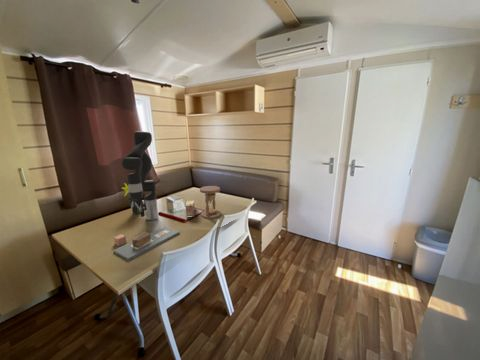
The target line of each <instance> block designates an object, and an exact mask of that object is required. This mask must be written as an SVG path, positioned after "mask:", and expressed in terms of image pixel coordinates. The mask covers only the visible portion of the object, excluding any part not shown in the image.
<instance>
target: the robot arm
mask: <svg viewBox="0 0 480 360" xmlns="http://www.w3.org/2000/svg"><path fill="white" fill-rule="evenodd" d="M152 140H153V136H152V133H151V132H149V131H144V130H143V131H141V130H135V131H134V133H133V141H134V144H135V146H133V147H132V148H131V150H130V152H129V153H128V154H127V155H126V156H125V157H123V159H122V160H121V166H122V168H123V169H124V170H135V171H134V172H130V173H128V174H127V175H126V177H127V186H128V190H129V192H128V193H129V194H128V196H129V198H128V205H129V208H130V209H131V211H132V214H133V215H134V214H135V215H136V214H138V213H137V211H136V208H135V207H136V206H137V207H138V209H139V210H140V213H139V215H140V217H141V218H143V217H145V219H146V220H147V221H154V220H157V219H159V211H158V201H157V193H156V181H155V180H154V179H149V180H146V178H147V176H148V174H150V172H151V170H152V168H153V166H152V165H153V164H152V159H151V157H150V156H149V154H148V153H147V152H146V151H147V149H149V147H150V145H151V144H152ZM146 192H149V193H148V194H146V195H145V196H144V193H146ZM143 198H144V199H143Z"/></svg>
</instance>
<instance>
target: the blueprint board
mask: <svg viewBox="0 0 480 360" xmlns="http://www.w3.org/2000/svg"><path fill="white" fill-rule="evenodd" d="M149 233H150V236H151V240H150V241H149V242H147V243H146V244H144V245H143V246H141V247H140V248H137V247H133V243H132V241H130V242H128V243H125V244H123V245H120V246H118V247H117V248H115V249H113V253H114V254H116V255H117V256H120V257H121V258H122V259H124V260H127V261H128V262H129V261H130V260H132V259H134V258H136V257H139V256H140V255H142V254H144V253H146V252H148V251H150V250H152V249H153V248H155V247H157V246H159V245H160V244H163V243H164V242H166V241H169V240H170V239H172V238H174V237H175V236H178V235H180V234H181V233H180V231H179V230H176V229H173V228H171V227H167V226H163V227H160V228H158V229H157V230H155V231H152V232H149Z"/></svg>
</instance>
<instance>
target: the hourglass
mask: <svg viewBox="0 0 480 360" xmlns="http://www.w3.org/2000/svg"><path fill="white" fill-rule="evenodd" d="M199 192H200V193H202V194H204V196H205V200H204V201H205V203H206V204H205V205H206V206H205V210H204V211H202V212H201V213H200V217H201V218H202V217H203V218H202V219H205V220H214V219H218V218H219V217H221V215H222V213H221V211H220V210H218V209H216V200H215V199H216V194H217V193H219V192H221V188H220V187H219V186H217V185H205V186H201V187H200V188H199ZM209 203H210V204H212V208H210V207H209Z"/></svg>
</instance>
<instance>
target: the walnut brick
mask: <svg viewBox="0 0 480 360" xmlns="http://www.w3.org/2000/svg"><path fill="white" fill-rule="evenodd" d="M150 233H151V232H145V231H144V232H142V233H140V234H139V235H137V236H135V237H133V238H131V240H132V241H131V242H132V243H133V247H137V248H140V247H141V246H143V245H144V244H146V243H147V242H149V241H150V240H151V236H150Z"/></svg>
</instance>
